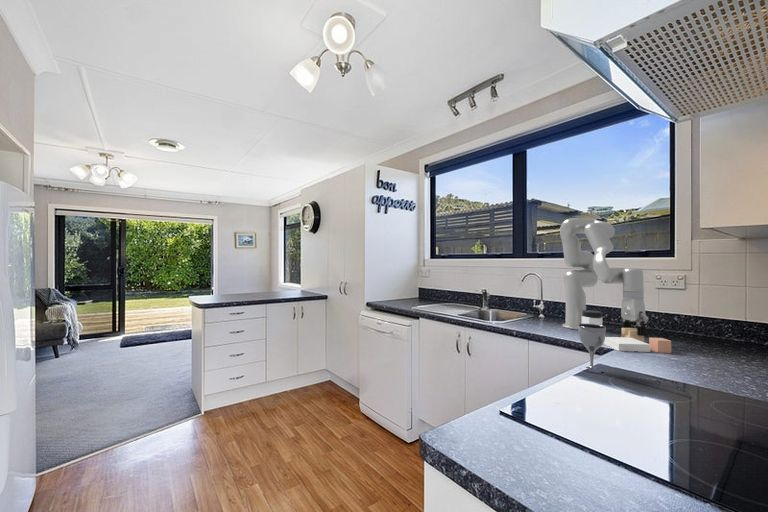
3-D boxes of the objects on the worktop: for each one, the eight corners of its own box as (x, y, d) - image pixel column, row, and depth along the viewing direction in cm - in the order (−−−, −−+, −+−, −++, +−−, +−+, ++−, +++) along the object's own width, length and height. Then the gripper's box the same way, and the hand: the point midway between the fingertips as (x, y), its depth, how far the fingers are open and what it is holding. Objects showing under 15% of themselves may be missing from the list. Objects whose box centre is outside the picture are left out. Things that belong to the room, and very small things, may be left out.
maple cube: (621, 340, 153) (621, 327, 153) (635, 341, 152) (635, 328, 152) (629, 344, 147) (629, 330, 147) (644, 344, 146) (644, 330, 146)
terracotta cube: (649, 349, 138) (649, 337, 138) (662, 349, 138) (662, 337, 138) (657, 352, 133) (657, 340, 133) (671, 353, 133) (671, 340, 133)
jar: (599, 338, 156) (599, 313, 156) (579, 335, 162) (579, 311, 162) (604, 335, 162) (604, 311, 162) (585, 333, 168) (585, 309, 168)
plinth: (602, 343, 147) (602, 336, 147) (631, 344, 146) (631, 337, 146) (618, 351, 135) (618, 343, 135) (650, 352, 134) (650, 344, 134)
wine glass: (580, 372, 110) (581, 327, 110) (576, 365, 117) (576, 322, 117) (608, 375, 107) (609, 329, 107) (602, 367, 114) (602, 324, 114)
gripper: (613, 293, 159) (614, 329, 158) (637, 297, 141) (638, 337, 141) (629, 293, 158) (630, 329, 157) (655, 297, 141) (657, 337, 140)
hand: (634, 333), depth 149 cm, fingers open, 9 cm apart
